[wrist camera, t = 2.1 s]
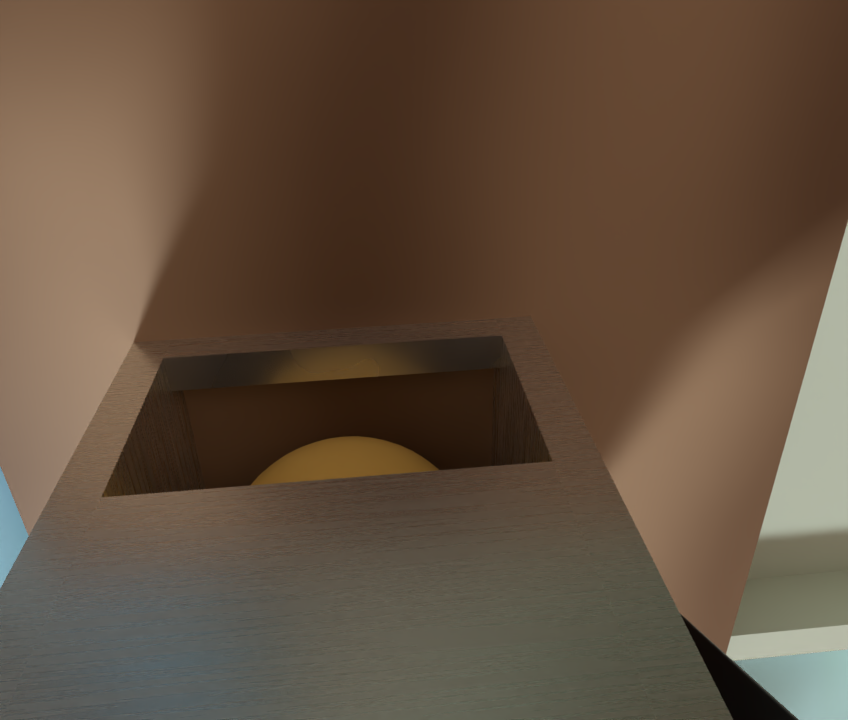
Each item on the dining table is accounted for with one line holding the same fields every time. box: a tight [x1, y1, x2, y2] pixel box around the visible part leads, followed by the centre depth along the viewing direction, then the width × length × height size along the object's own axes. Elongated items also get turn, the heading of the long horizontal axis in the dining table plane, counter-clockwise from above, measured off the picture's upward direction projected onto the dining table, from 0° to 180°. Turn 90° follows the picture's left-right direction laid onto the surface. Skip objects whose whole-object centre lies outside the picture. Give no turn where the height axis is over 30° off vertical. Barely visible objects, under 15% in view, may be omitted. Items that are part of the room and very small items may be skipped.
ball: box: [251, 436, 439, 485], centre depth 10 cm, size 4×4×4 cm
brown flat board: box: [0, 0, 848, 654], centre depth 12 cm, size 12×14×2 cm
